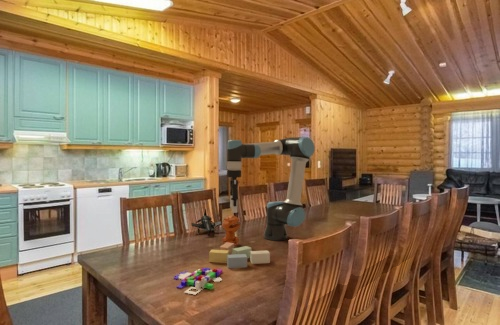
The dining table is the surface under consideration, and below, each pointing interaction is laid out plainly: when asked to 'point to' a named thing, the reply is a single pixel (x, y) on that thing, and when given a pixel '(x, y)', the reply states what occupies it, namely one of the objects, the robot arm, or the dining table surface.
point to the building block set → (198, 279)
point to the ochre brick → (218, 256)
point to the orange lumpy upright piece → (231, 229)
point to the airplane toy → (206, 224)
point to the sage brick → (242, 251)
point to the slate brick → (237, 261)
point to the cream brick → (259, 257)
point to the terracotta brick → (227, 247)
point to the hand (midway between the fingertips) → (233, 210)
